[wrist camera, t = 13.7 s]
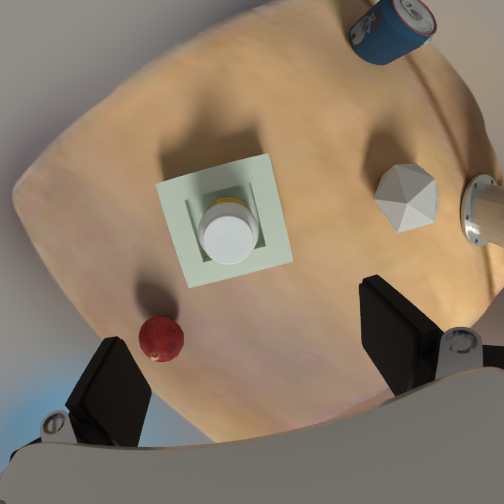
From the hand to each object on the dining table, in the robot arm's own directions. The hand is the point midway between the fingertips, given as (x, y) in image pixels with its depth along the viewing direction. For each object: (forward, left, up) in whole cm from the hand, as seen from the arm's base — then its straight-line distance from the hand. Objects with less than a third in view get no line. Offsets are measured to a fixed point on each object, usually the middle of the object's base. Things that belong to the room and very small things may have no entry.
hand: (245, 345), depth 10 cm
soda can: (-23, -20, -25) cm, 39 cm away
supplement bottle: (+1, -1, -22) cm, 22 cm away
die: (-21, +1, -25) cm, 32 cm away
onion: (+13, +11, -25) cm, 30 cm away
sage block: (+1, -1, -24) cm, 24 cm away
